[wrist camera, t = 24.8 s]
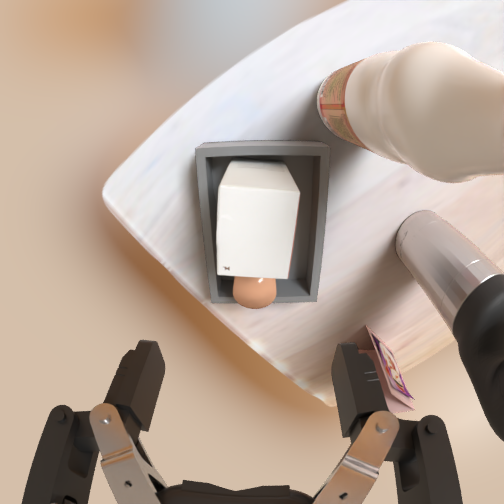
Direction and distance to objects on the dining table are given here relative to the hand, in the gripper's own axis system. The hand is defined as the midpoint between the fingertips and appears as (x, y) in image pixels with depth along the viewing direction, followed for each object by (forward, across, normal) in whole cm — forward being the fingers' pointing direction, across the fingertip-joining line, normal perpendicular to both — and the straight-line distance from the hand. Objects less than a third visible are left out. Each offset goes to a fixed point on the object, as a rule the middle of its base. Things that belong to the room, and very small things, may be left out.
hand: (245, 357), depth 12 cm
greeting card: (+27, -21, +30) cm, 45 cm away
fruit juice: (+26, -12, -11) cm, 31 cm away
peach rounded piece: (+25, 0, +10) cm, 27 cm away
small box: (+25, 0, 0) cm, 25 cm away
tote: (+26, -1, +4) cm, 26 cm away
